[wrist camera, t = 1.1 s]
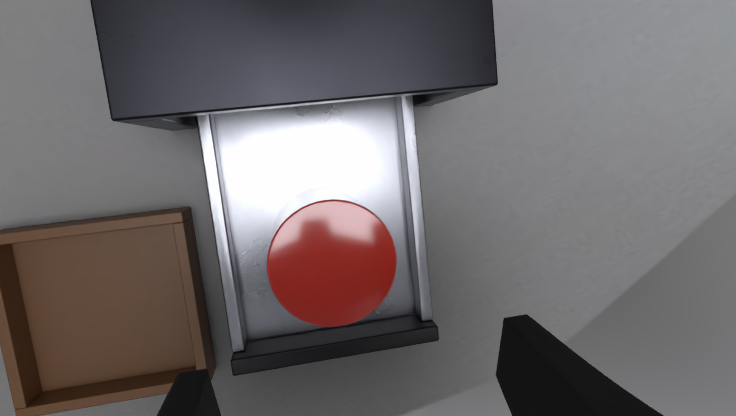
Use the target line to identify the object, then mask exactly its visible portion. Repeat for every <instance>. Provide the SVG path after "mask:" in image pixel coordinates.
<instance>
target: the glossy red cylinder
mask: <svg viewBox="0 0 736 416" xmlns="http://www.w3.org/2000/svg"><path fill="white" fill-rule="evenodd" d="M396 268H397V254H396V248H395V244H394V241H393V238H392V236H391V234H390V232H389V230H388V229H387V227H386V226H385V224H384V223H383V222H382V221H381V219H380V218H379V217H378V216H376V215H375V214H374V213H373V212H372V211H370V210H369V209H368V208H366V207H365V206H364V205H362V204H361V203H360V202H358V201H357V200H356V199H354V198H353V197H351V196H350V195H348V194H347V193H345V192H343V191H340V190H337V189H332V188H324V187H323V188H313V189H309V190H306V191H303V192H301V193H299V194H297V195H296V196H294V197H292V198H291V199H290V200H289V201H288V202H287V203H286V204H285V205H284V206H283V207H282V209H281V210H280V212H279V213H278V215H277V217H276V220H275V223H274V226H273V231H272V236H271V241H270V246H269V250H268V255H267V275H268V280H269V283H270V286H271V289H272V291H273V293H274V295H275V297H276V298H277V300H278V301H279V303H280V304H281V305H282V306H283V307H284V308H285V309H286V310H287V311H288V312H289V313H290V314H292V315H293V316H295V317H296V318H298V319H299V320H302V321H304V322H306V323H309V324H312V325H316V326H322V327H338V326H344V325H348V324H351V323H354V322H357V321H359V320H361V319H363V318H364V317H366V316H367V315H369V314H370V313H372V312H373V311H374V310H375V309H376V308H377V307H378V306H379V305H380V304H381V303H382V302H383V300H384V299H385V298H386V296H387V295H388V293H389V291H390V289H391V287H392V284H393V282H394V279H395V274H396Z"/></svg>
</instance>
